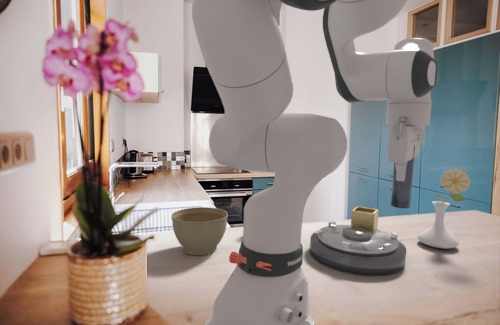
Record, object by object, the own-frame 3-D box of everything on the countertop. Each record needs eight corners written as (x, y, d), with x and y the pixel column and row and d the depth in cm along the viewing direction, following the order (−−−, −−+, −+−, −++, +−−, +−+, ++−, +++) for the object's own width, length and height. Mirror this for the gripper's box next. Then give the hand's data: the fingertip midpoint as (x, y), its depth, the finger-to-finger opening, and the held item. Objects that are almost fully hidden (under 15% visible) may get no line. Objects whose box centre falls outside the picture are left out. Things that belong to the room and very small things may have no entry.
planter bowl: (215, 237, 108) (216, 204, 107) (236, 255, 94) (236, 218, 93) (166, 244, 101) (165, 209, 100) (179, 265, 87) (179, 224, 85)
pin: (408, 209, 73) (413, 145, 71) (389, 206, 75) (393, 144, 74) (411, 205, 76) (416, 145, 75) (392, 203, 79) (397, 144, 77)
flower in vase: (412, 245, 105) (419, 167, 102) (422, 236, 114) (428, 164, 111) (461, 256, 97) (469, 171, 94) (467, 246, 105) (475, 168, 102)
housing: (396, 285, 78) (397, 267, 77) (295, 259, 92) (295, 243, 91) (411, 251, 100) (412, 237, 99) (327, 234, 114) (328, 221, 113)
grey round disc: (390, 263, 80) (392, 233, 79) (305, 243, 92) (306, 217, 91) (404, 237, 99) (406, 213, 98) (332, 224, 111) (333, 202, 110)
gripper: (417, 116, 63) (411, 188, 65) (428, 118, 80) (423, 175, 82) (382, 116, 66) (377, 184, 68) (400, 118, 83) (396, 172, 85)
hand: (402, 179), depth 75 cm, fingers closed on pin, 4 cm apart
